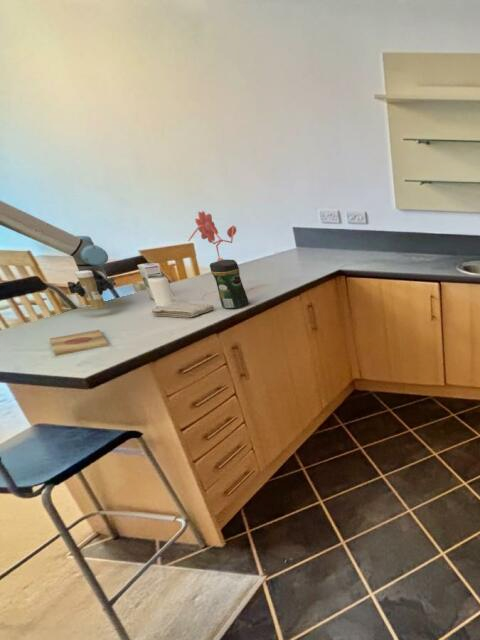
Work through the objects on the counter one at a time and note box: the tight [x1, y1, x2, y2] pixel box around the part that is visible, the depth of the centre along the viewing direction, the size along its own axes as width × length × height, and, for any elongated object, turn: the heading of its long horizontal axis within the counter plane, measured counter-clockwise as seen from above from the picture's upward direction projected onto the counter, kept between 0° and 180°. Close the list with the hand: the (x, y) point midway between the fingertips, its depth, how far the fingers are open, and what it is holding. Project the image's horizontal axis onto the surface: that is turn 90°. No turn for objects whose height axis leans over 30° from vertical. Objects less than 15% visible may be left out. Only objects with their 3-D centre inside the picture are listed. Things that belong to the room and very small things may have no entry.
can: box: [147, 274, 177, 307], centre depth 168 cm, size 6×6×12 cm
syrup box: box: [137, 262, 163, 300], centre depth 177 cm, size 6×6×14 cm
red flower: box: [187, 210, 254, 301], centre depth 179 cm, size 15×26×35 cm, turn 2°
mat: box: [49, 329, 109, 357], centre depth 132 cm, size 18×12×1 cm, turn 48°
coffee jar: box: [209, 259, 250, 310], centre depth 167 cm, size 10×8×19 cm
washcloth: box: [150, 301, 215, 319], centre depth 161 cm, size 12×18×3 cm, turn 84°
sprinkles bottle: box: [74, 270, 107, 310], centre depth 153 cm, size 5×5×13 cm
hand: (90, 291), depth 150 cm, fingers closed on sprinkles bottle, 4 cm apart
